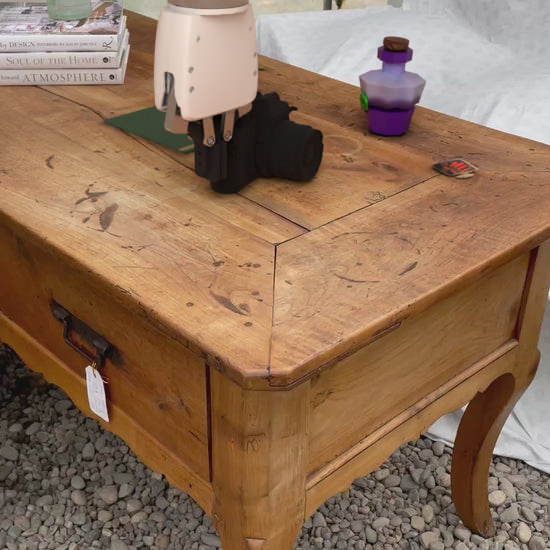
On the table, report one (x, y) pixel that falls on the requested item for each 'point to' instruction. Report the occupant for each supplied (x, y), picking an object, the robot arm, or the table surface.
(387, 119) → the potion bottle
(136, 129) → the book
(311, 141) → the film camera
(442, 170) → the matchbox
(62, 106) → the table surface
